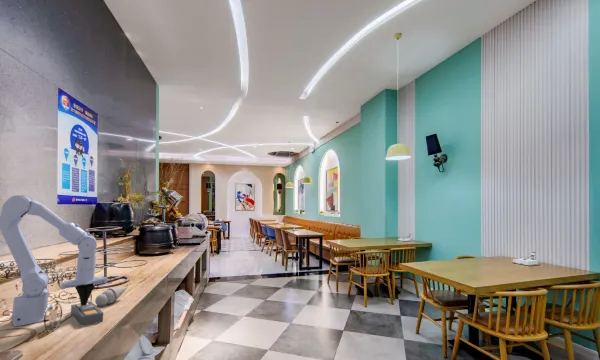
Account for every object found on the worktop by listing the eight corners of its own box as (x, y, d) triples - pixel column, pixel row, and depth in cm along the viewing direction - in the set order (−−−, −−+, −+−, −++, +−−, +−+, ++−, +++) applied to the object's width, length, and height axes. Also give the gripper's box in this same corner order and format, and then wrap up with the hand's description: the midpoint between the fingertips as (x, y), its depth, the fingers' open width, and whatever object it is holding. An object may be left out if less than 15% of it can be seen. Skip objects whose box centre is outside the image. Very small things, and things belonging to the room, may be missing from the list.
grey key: (82, 311, 115) (82, 308, 115) (79, 309, 118) (80, 306, 118) (93, 309, 118) (94, 306, 118) (91, 307, 120) (91, 303, 120)
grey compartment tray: (81, 326, 110) (81, 317, 110) (70, 313, 121) (71, 304, 121) (102, 321, 114) (103, 312, 114) (90, 309, 126) (91, 301, 126)
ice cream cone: (129, 296, 142) (98, 313, 128) (120, 286, 144) (88, 302, 129) (135, 287, 141) (104, 302, 127) (126, 277, 142) (95, 291, 128)
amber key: (85, 318, 112) (85, 314, 112) (82, 315, 114) (83, 312, 114) (97, 315, 114) (97, 312, 114) (94, 313, 117) (94, 309, 117)
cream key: (78, 310, 119) (78, 307, 119) (76, 308, 121) (76, 304, 121) (90, 308, 121) (90, 305, 121) (87, 306, 124) (87, 302, 124)
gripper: (64, 273, 114) (61, 312, 113) (110, 267, 124) (108, 303, 124) (60, 269, 119) (58, 307, 118) (105, 264, 129) (103, 299, 129)
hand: (83, 305), depth 121 cm, fingers closed, pressing on cream key
